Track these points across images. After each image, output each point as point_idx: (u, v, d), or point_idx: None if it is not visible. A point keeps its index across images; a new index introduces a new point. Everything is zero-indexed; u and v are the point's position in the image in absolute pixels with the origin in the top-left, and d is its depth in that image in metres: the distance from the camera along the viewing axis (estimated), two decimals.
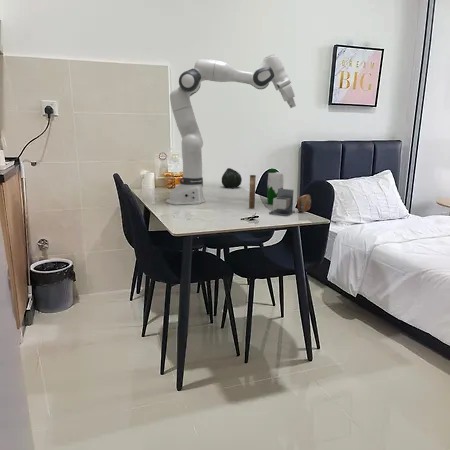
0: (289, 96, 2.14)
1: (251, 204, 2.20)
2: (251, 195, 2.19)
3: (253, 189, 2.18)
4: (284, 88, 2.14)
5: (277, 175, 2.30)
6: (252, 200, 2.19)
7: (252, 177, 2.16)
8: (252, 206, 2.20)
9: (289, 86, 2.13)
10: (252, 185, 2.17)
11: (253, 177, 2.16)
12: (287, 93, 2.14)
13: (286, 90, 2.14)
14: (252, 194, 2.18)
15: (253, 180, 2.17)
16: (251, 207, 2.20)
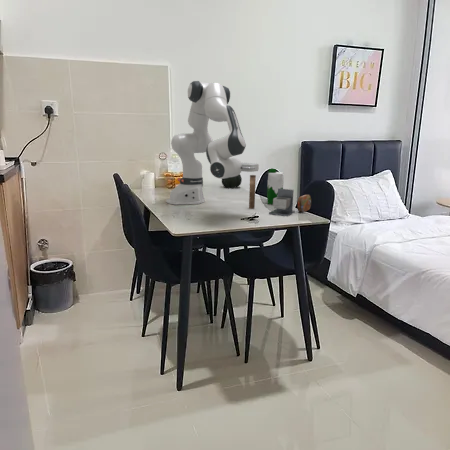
0: None
1: (251, 204, 2.20)
2: (251, 195, 2.19)
3: (253, 189, 2.18)
4: None
5: (277, 175, 2.30)
6: (252, 200, 2.19)
7: (252, 177, 2.16)
8: (252, 206, 2.20)
9: None
10: (252, 185, 2.17)
11: (253, 177, 2.16)
12: None
13: None
14: (252, 194, 2.18)
15: (253, 180, 2.17)
16: (251, 207, 2.20)
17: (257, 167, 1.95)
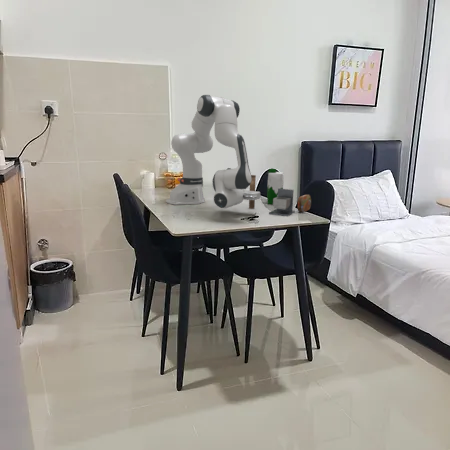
0: None
1: (251, 204, 2.20)
2: None
3: (253, 189, 2.18)
4: None
5: (277, 175, 2.30)
6: (252, 200, 2.19)
7: (252, 177, 2.16)
8: (252, 206, 2.20)
9: None
10: (252, 185, 2.17)
11: (253, 177, 2.16)
12: None
13: None
14: None
15: (253, 180, 2.17)
16: (251, 207, 2.20)
17: (259, 195, 2.03)
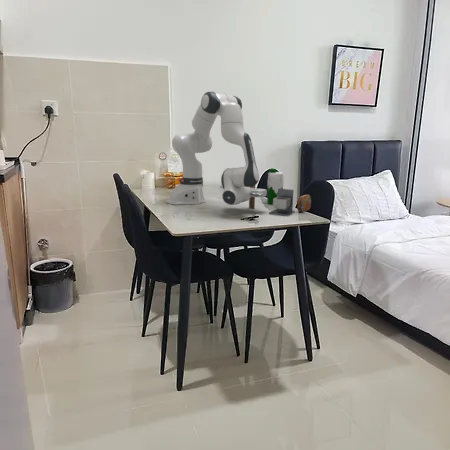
0: None
1: (251, 204, 2.20)
2: None
3: None
4: None
5: (277, 175, 2.30)
6: (252, 200, 2.19)
7: None
8: (252, 206, 2.20)
9: None
10: None
11: None
12: None
13: None
14: None
15: None
16: (251, 207, 2.20)
17: (265, 193, 2.10)
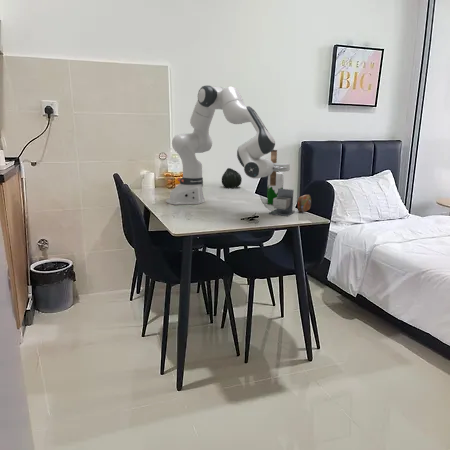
0: None
1: (272, 181, 2.08)
2: None
3: None
4: None
5: (277, 175, 2.30)
6: (273, 176, 2.07)
7: (273, 152, 2.05)
8: (273, 183, 2.08)
9: None
10: (273, 160, 2.06)
11: (274, 152, 2.05)
12: None
13: None
14: None
15: (274, 155, 2.05)
16: (272, 184, 2.08)
17: (288, 167, 1.98)
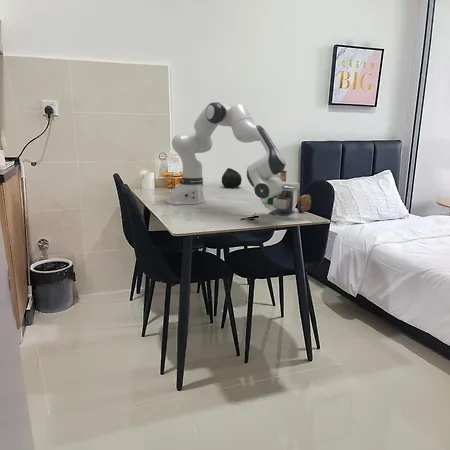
0: None
1: None
2: None
3: None
4: None
5: (277, 175, 2.30)
6: (282, 197, 2.06)
7: (283, 173, 2.03)
8: None
9: None
10: None
11: (284, 173, 2.03)
12: None
13: None
14: (283, 191, 2.05)
15: (284, 176, 2.03)
16: None
17: (298, 186, 1.96)
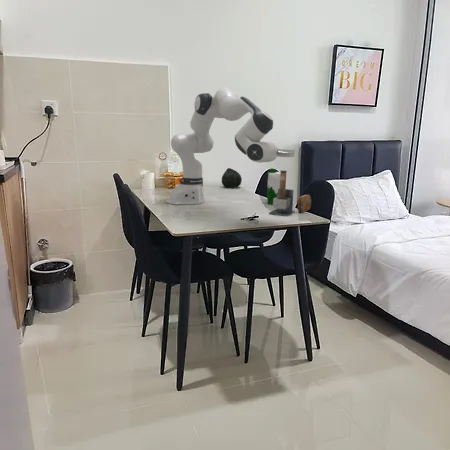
0: None
1: None
2: (281, 192, 2.05)
3: (284, 185, 2.04)
4: None
5: (277, 175, 2.30)
6: (282, 197, 2.06)
7: (283, 173, 2.03)
8: None
9: None
10: (283, 181, 2.04)
11: (284, 173, 2.03)
12: None
13: None
14: (283, 191, 2.05)
15: (284, 176, 2.03)
16: None
17: (293, 153, 1.83)
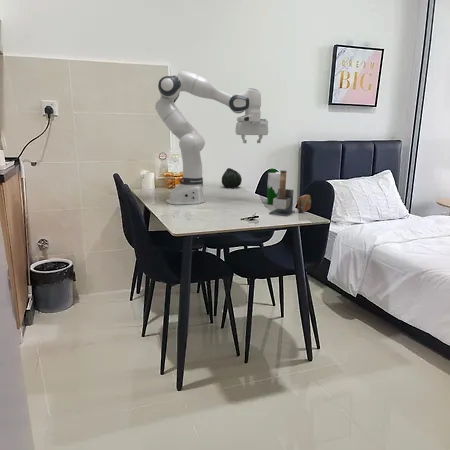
0: (236, 132, 2.29)
1: None
2: (281, 192, 2.05)
3: (284, 185, 2.04)
4: (237, 123, 2.29)
5: (277, 175, 2.30)
6: (282, 197, 2.06)
7: (283, 173, 2.03)
8: None
9: (239, 124, 2.27)
10: (283, 181, 2.04)
11: (284, 173, 2.03)
12: (236, 128, 2.29)
13: (236, 125, 2.29)
14: (283, 191, 2.05)
15: (284, 176, 2.03)
16: None
17: None
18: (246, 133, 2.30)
